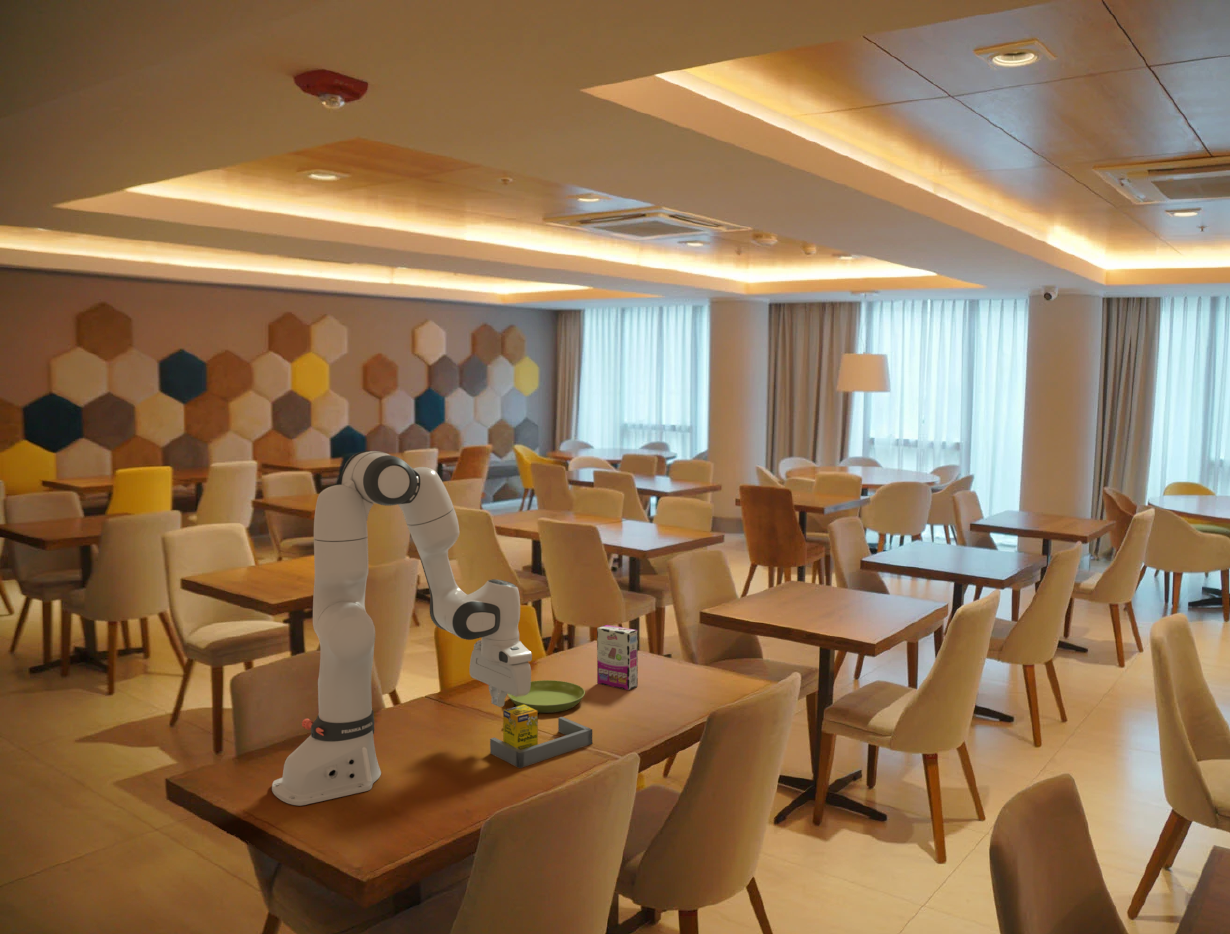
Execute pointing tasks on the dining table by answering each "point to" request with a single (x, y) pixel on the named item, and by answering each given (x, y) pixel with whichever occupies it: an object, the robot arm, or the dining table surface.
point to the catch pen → (544, 745)
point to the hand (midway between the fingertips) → (497, 705)
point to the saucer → (550, 696)
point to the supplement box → (520, 727)
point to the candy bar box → (617, 657)
